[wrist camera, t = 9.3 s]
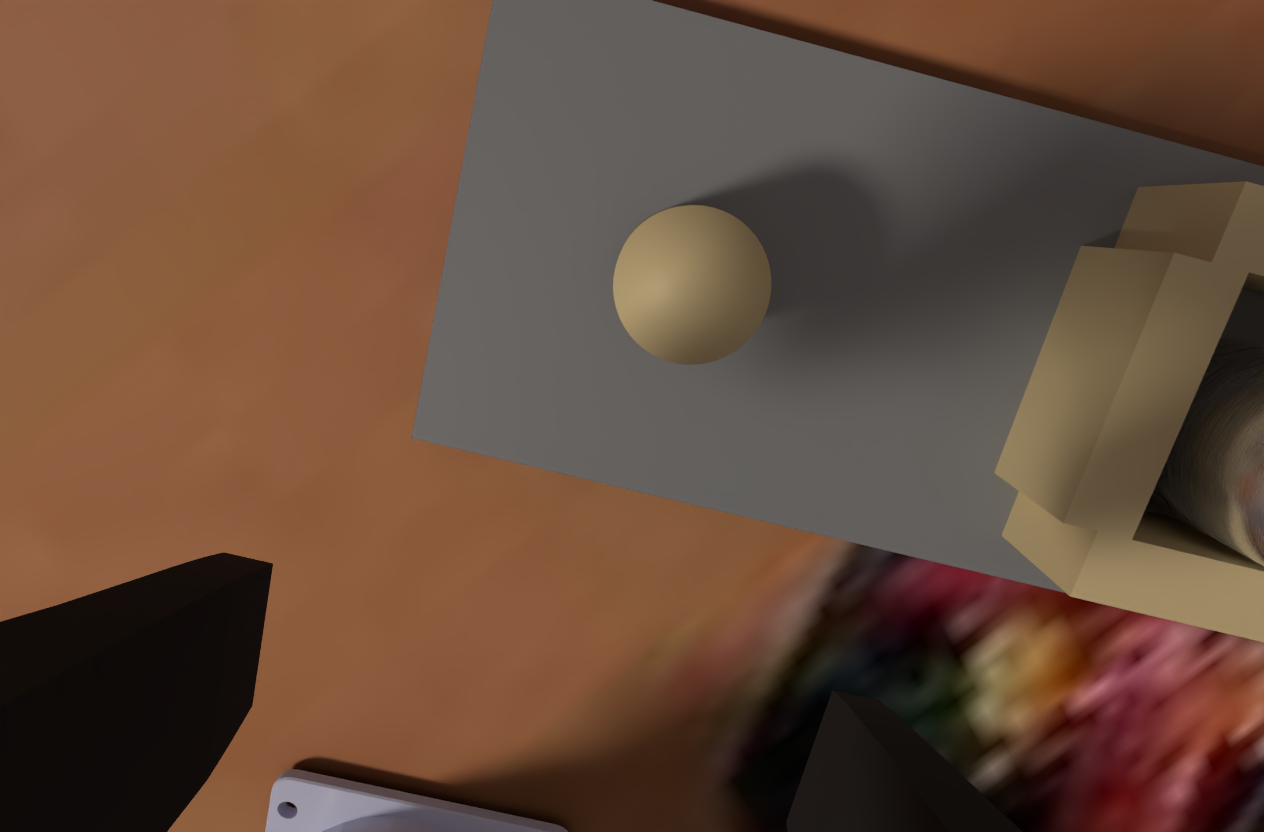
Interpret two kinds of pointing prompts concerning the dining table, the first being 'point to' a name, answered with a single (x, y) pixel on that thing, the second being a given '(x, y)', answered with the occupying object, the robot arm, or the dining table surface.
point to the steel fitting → (1222, 453)
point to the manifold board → (842, 300)
